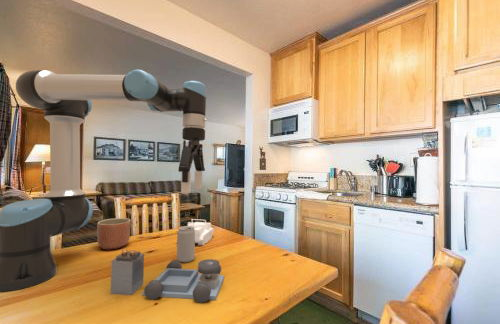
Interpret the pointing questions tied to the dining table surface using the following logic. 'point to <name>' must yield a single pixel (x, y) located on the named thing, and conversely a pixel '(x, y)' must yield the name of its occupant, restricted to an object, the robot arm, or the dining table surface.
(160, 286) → the chassis
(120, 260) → the twin lamp box
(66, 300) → the dining table surface
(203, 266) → the spare wheel
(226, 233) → the dining table surface
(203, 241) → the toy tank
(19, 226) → the robot arm
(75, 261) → the dining table surface
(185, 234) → the beverage can
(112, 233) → the planter
